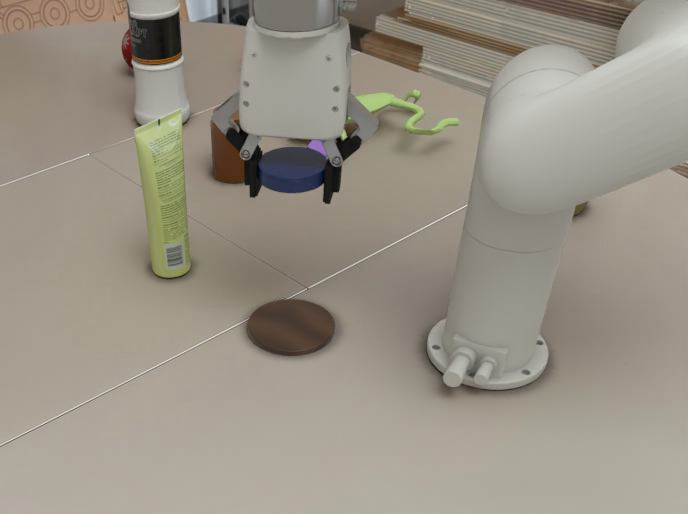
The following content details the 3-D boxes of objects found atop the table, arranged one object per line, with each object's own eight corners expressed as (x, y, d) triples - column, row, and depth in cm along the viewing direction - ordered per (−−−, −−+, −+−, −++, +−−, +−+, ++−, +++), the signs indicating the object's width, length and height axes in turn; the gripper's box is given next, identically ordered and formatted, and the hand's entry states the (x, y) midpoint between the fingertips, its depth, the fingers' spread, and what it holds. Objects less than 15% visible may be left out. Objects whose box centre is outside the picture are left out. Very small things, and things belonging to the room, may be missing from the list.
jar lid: (289, 154, 86) (289, 140, 85) (341, 174, 82) (342, 159, 81) (244, 179, 82) (243, 164, 81) (296, 200, 79) (296, 185, 78)
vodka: (188, 130, 134) (174, -80, 114) (132, 132, 135) (108, -76, 114) (192, 107, 141) (179, -95, 120) (138, 109, 142) (116, -92, 121)
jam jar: (243, 186, 120) (241, 123, 113) (205, 178, 122) (201, 116, 116) (263, 168, 124) (262, 106, 117) (225, 160, 126) (223, 99, 120)
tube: (153, 256, 107) (137, 108, 94) (192, 254, 107) (181, 106, 94) (150, 280, 103) (133, 129, 90) (191, 279, 103) (179, 127, 90)
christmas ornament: (177, 66, 155) (173, 9, 148) (157, 83, 150) (152, 25, 143) (137, 61, 158) (131, 5, 151) (116, 78, 152) (109, 21, 146)
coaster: (312, 365, 90) (313, 361, 89) (232, 340, 93) (232, 336, 93) (348, 316, 96) (348, 311, 95) (271, 295, 100) (271, 290, 99)
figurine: (461, 158, 123) (467, 122, 119) (283, 171, 122) (284, 135, 119) (430, 108, 136) (435, 73, 132) (269, 119, 136) (270, 85, 132)
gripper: (402, -5, 72) (382, 183, 84) (210, -10, 76) (218, 170, 88) (393, 25, 67) (373, 220, 79) (188, 17, 71) (200, 205, 83)
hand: (292, 193), depth 83 cm, fingers closed on jar lid, 6 cm apart
